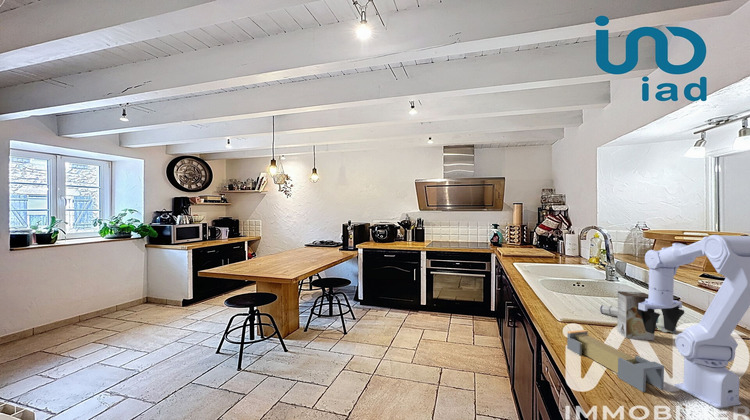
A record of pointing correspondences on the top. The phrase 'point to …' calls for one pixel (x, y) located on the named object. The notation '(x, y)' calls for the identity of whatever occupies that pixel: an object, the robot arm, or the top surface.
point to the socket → (575, 341)
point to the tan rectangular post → (602, 352)
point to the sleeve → (641, 373)
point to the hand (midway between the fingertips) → (659, 331)
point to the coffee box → (631, 316)
